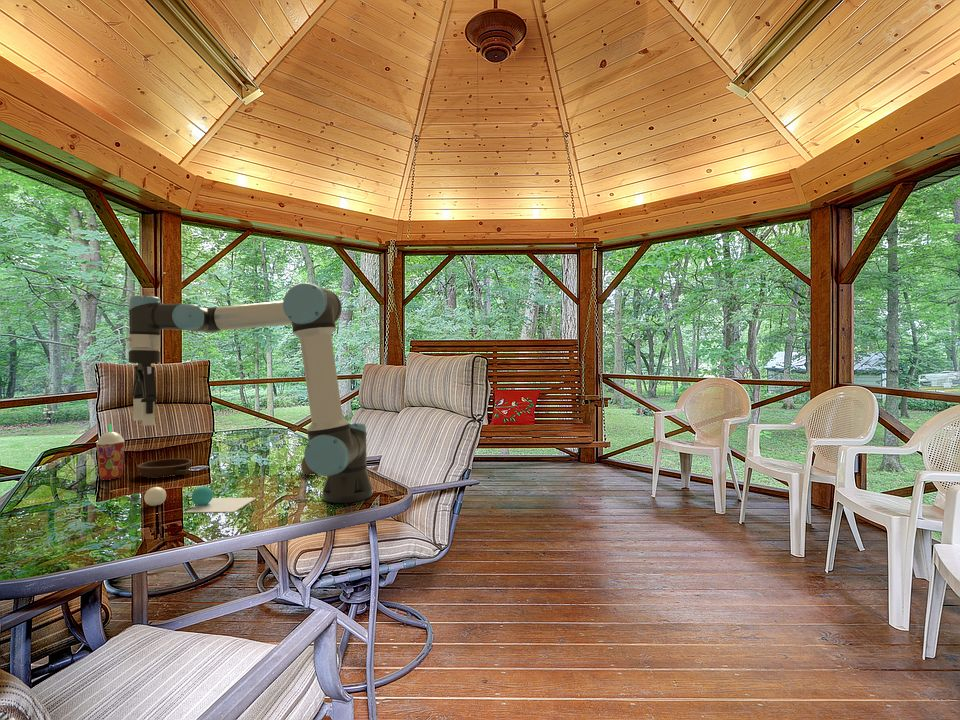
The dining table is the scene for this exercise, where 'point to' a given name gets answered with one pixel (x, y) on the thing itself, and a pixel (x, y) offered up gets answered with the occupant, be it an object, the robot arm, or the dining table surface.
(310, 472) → the vase
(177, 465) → the dish
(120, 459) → the smoothie
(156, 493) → the cue ball
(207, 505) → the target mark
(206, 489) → the object ball
